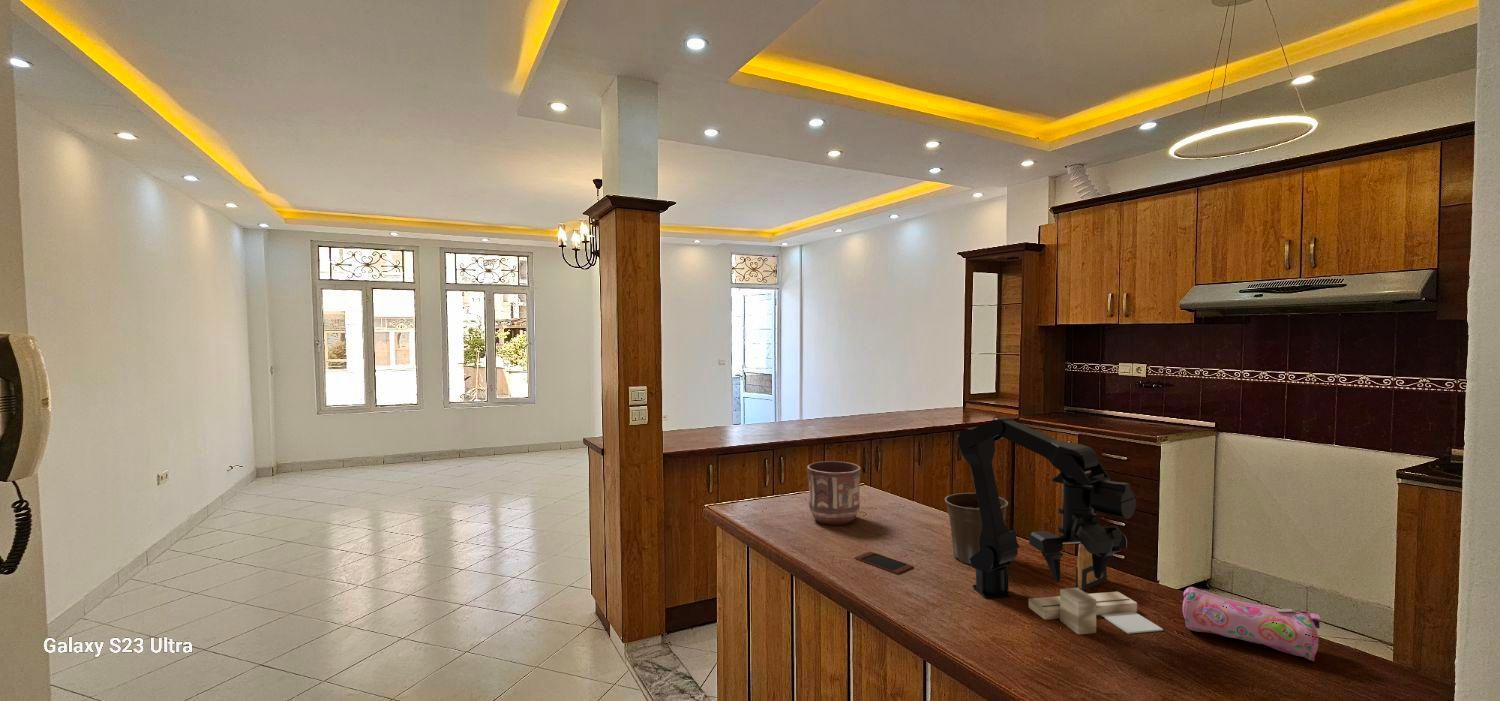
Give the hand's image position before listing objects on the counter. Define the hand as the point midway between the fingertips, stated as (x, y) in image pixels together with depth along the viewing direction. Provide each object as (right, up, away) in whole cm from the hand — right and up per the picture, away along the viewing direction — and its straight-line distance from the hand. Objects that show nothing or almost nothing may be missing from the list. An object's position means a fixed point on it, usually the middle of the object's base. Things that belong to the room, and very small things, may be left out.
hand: (1077, 579), depth 132 cm
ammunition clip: (+15, -9, +21) cm, 27 cm away
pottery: (-41, -8, +76) cm, 86 cm away
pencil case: (+30, -10, -7) cm, 33 cm away
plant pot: (-7, -9, +40) cm, 41 cm away
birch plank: (+5, -10, +8) cm, 14 cm away
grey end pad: (+12, -10, +1) cm, 16 cm away
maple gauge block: (0, -10, 0) cm, 10 cm away
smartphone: (-33, -10, +37) cm, 51 cm away
